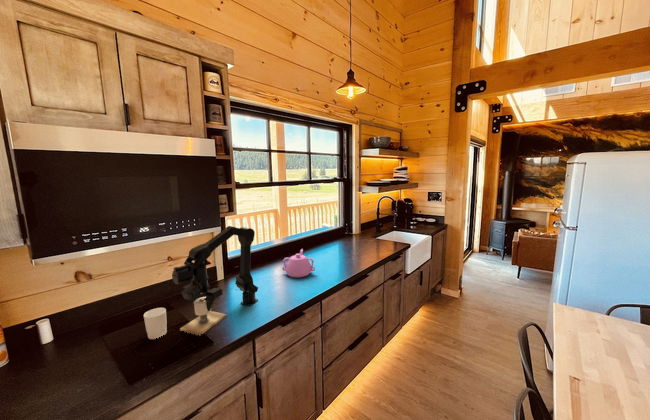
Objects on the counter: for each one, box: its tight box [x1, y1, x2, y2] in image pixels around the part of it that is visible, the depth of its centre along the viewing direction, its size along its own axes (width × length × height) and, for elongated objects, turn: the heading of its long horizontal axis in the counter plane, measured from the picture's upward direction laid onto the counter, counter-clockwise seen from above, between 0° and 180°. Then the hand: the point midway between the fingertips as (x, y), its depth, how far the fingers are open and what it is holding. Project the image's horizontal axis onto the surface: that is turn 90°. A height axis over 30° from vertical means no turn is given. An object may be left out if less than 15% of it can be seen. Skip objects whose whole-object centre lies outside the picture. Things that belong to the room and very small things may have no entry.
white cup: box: [143, 307, 168, 340], centre depth 111 cm, size 8×8×10 cm
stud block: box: [179, 310, 227, 337], centre depth 119 cm, size 16×11×5 cm
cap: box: [193, 296, 212, 317], centre depth 118 cm, size 7×7×6 cm
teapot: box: [281, 248, 316, 278], centre depth 176 cm, size 22×22×14 cm
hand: (203, 309), depth 118 cm, fingers closed on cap, 6 cm apart
